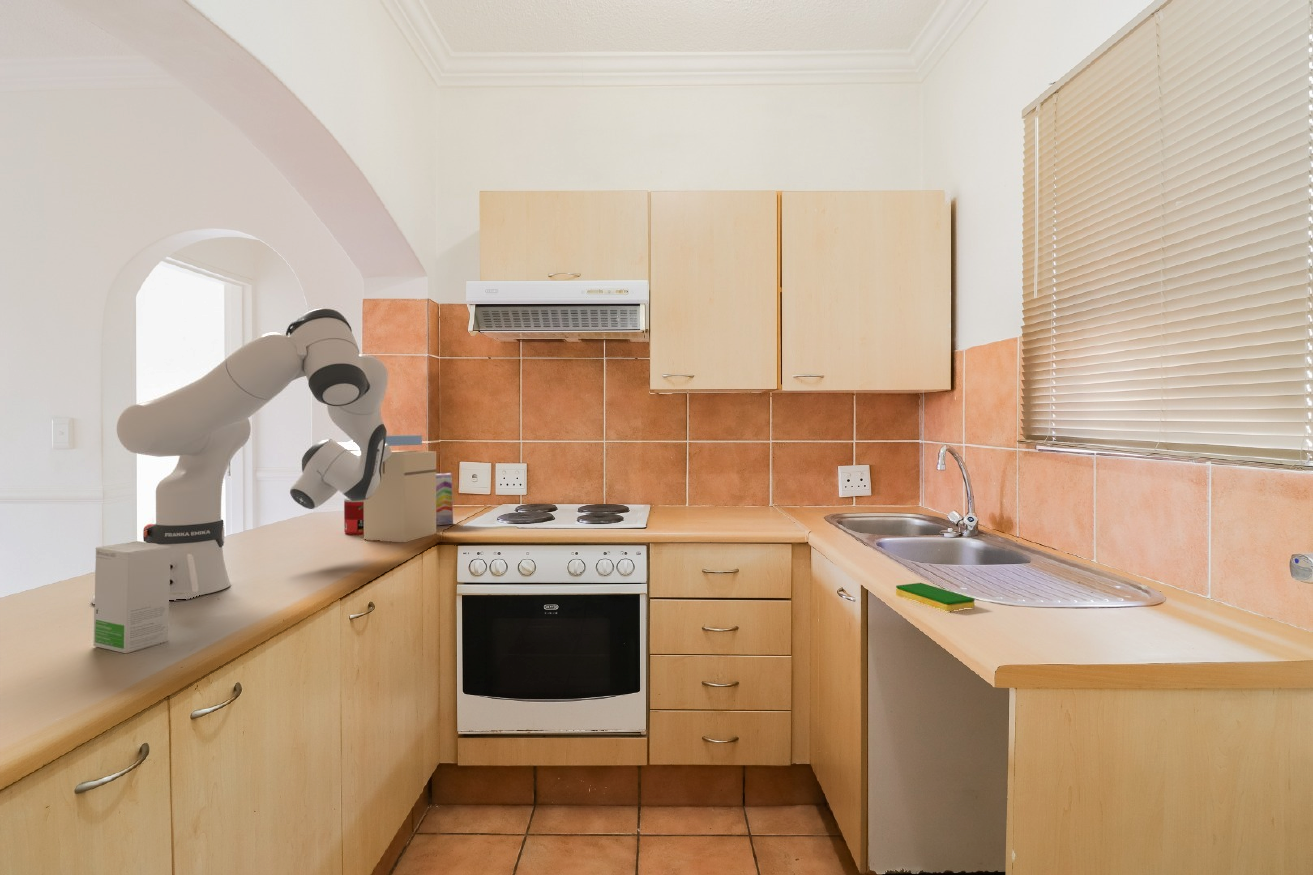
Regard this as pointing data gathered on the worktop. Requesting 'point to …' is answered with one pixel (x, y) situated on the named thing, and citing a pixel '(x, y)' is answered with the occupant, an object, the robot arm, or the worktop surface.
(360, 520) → the canned food
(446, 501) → the cake pan box
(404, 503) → the kraft carton
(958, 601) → the dish sponge
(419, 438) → the bar
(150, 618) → the skincare box
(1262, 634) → the worktop surface
